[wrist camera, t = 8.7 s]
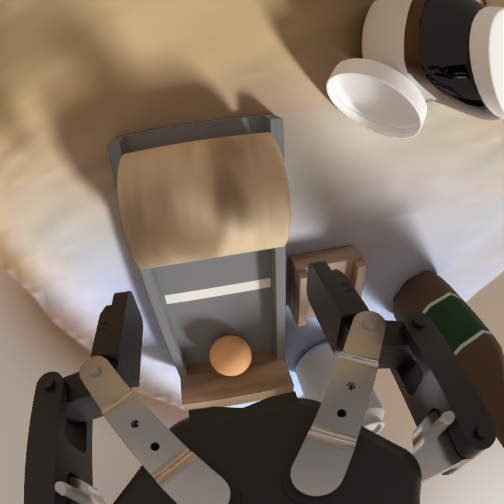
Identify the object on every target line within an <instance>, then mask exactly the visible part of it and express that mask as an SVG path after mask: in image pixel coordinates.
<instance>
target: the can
mask: <svg viewBox="0 0 504 504" xmlns="http://www.w3.org/2000/svg"><path fill="white" fill-rule="evenodd" d="M340 354H342V352H340V353H336V354H334V353H333V351H332V349H331V347H330V345H329V343H328V342H324V343H321V344H318V345H316V346H314V347H313V348H311V349H309V350H308V351H307V352H306V353H305V354H304V355H303V356H302V358H301V359H300V361H299V363H298V364H297V366H296V371H295V372H296V374H297V377H298V380H299V383H300V385H301V388H302V391H303V394H304V396H305V398H306V399H312V400H316V401H319V402H321V403H322V401H323V398H324V396H325V393H326V391H327V388H328V386H329V383H330V381H331V378H332V375H333V373H334V370H335V367H336V365H337V362H338V359H339V357H340ZM384 411H385V410H384V408H383V406H382V404H381V402H380V400H379V398H378V396H377V394H376V392H375V391H374V389H372V393H371V396H370V400H369V403H368V407H367V410H366V413H365V416H364V420H363V423H362V426H363V427H365V428H367V429H369V430H370V431H372V432H374V433H376V434H378V433H379V432H380V431H381V430H382V428H383V427H384V422H382V418H383V415H384Z"/></svg>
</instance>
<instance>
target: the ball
mask: <svg viewBox="0 0 504 504" xmlns="http://www.w3.org/2000/svg"><path fill="white" fill-rule="evenodd" d="M251 358H252V354H251V349H250V347H249V345H248V344H247V342H246V341H245V340H243V339H242V338H240V337H238V336H234V335H227V336H223V337H221V338H219V339H218V340H216V341H215V342H214V344H213V345H212V347H211V349H210V362H211V364H212V366H213V367H214V369H215V370H216V371H217V372H219V373H221V374H223V375H226V376H236V375H239V374H241V373H243V372H244V371H245V370H246V369H247V368H248V367H249V365H250V363H251Z"/></svg>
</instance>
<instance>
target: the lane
mask: <svg viewBox="0 0 504 504" xmlns="http://www.w3.org/2000/svg"><path fill="white" fill-rule="evenodd" d="M266 132H269V133H271V134H272V135H273V137H274V138H275V140H276V142H277V144H278V146H279V148H280V151H281V154H282V158H283V161H284V138H283V119H282V118H280V117H278V116H276V115H274V114H269V115H256V116H245V117H235V118H226V119H217V120H210V121H202V122H195V123H188V124H182V125H176V126H170V127H164V128H159V129H154V130H148V131H143V132H138V133H134V134H129V135H125V136H120V137H116V138H114V139H113V140H112V141H111V142H110V143H109V144H108V145H107V146H108V151H109V156H110V161H111V165H112V170H113V174H114V178H115V183H116V187H117V177H118V167H119V162H120V159H121V157H122V155H123V154H126V153H131V152H136V151H141V150H146V149H151V148H156V147H161V146H167V145H173V144H179V143H185V142H191V141H198V140H205V139H212V138H219V137H227V136H236V135H245V134H255V133H266ZM139 269H140V268H139ZM140 272H141V275H142V278H143V281H144V284H145V287H146V290H147V293H148V295H149V298H150V301H151V304H152V307H153V310H154V312H155V315H156V318H157V320H158V323H159V326H160V328H161V331H162V334H163V336H164V339H165V341H166V344H167V346H168V349H169V351H170V354H171V356H172V359H173V361H174V363H175V366H176V368H177V370H178V373H179V375H180V377H187V376H188V371H187V364H194V363H201V362H207V361H210V349H211V347H212V345H213V344H214V342H215V341H216V340H218V339H219V338H221V337H223V336H227V335H234V336H238V337H240V338H242V339H243V340H245V341H246V342H247V344H248V345H249V347H250V349H251V354H253V353H258V352H263V351H268V350H273V349H274V352H275V355H276V358H277V361H278V360H283V359H285V313H286V245H285V246H284V247H278V248H272V249H265V250H259V251H253V252H247V253H241V254H235V255H229V256H222V257H216V258H210V259H204V260H198V261H192V262H186V263H180V264H173V265H167V266H161V267H155V268H149V269H143V270H142V269H140Z"/></svg>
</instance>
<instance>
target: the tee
mask: <svg viewBox="0 0 504 504" xmlns="http://www.w3.org/2000/svg"><path fill="white" fill-rule="evenodd" d="M322 260H325V261H326V262H327V264H328V265H329V267H330V268H331V270H334V269H338V270H339V271H341V272H342V273H344V274H345V275H346V276H347V278H348V279H349V281H350V282H351V284H352V285H353V286H354V288H355V290H356V291H357V292H358V294H359V295H360V297H361V294H362V289H363V284H364V279H365V273H366V268H367V265H366V264H365V263H364V261H363V260H362V257H361V256H360V254H359V253H358V252H357V251H356V250H355V248H354V247H353V246H352V245H351V246H345V247H339V248H333V249H328V250H322V251H316V252H310V253H304V254H299V255H293V256H290V282H289V308H290V310H291V312H292V315H293V317H294V320H295V321H296V323H297V325H298V327H301V326H305V325H307V318H311V317H315V316H316V315H315V313H314V311H313V309H312V307H311V305H310V303H309V301H308V297H307V291H306V287H307V269H308V264H309V263H311V262H317V261H322Z"/></svg>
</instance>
